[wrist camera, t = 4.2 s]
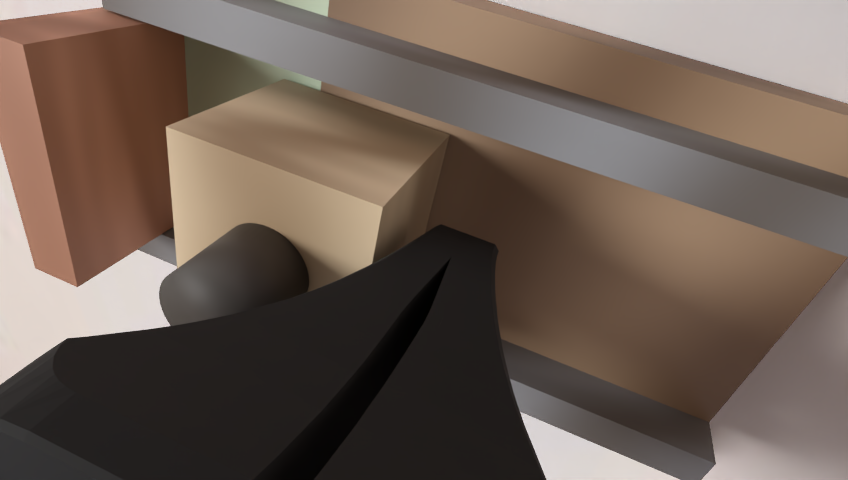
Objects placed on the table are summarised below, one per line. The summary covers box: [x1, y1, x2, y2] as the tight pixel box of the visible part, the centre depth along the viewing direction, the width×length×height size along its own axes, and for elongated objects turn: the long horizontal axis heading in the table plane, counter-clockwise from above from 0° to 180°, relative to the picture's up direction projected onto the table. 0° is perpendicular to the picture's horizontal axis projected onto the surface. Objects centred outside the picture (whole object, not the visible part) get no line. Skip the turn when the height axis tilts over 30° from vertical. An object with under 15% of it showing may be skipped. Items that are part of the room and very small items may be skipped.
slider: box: [159, 79, 449, 326], centre depth 10 cm, size 4×4×5 cm
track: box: [0, 0, 848, 480], centre depth 11 cm, size 16×9×5 cm, turn 77°
